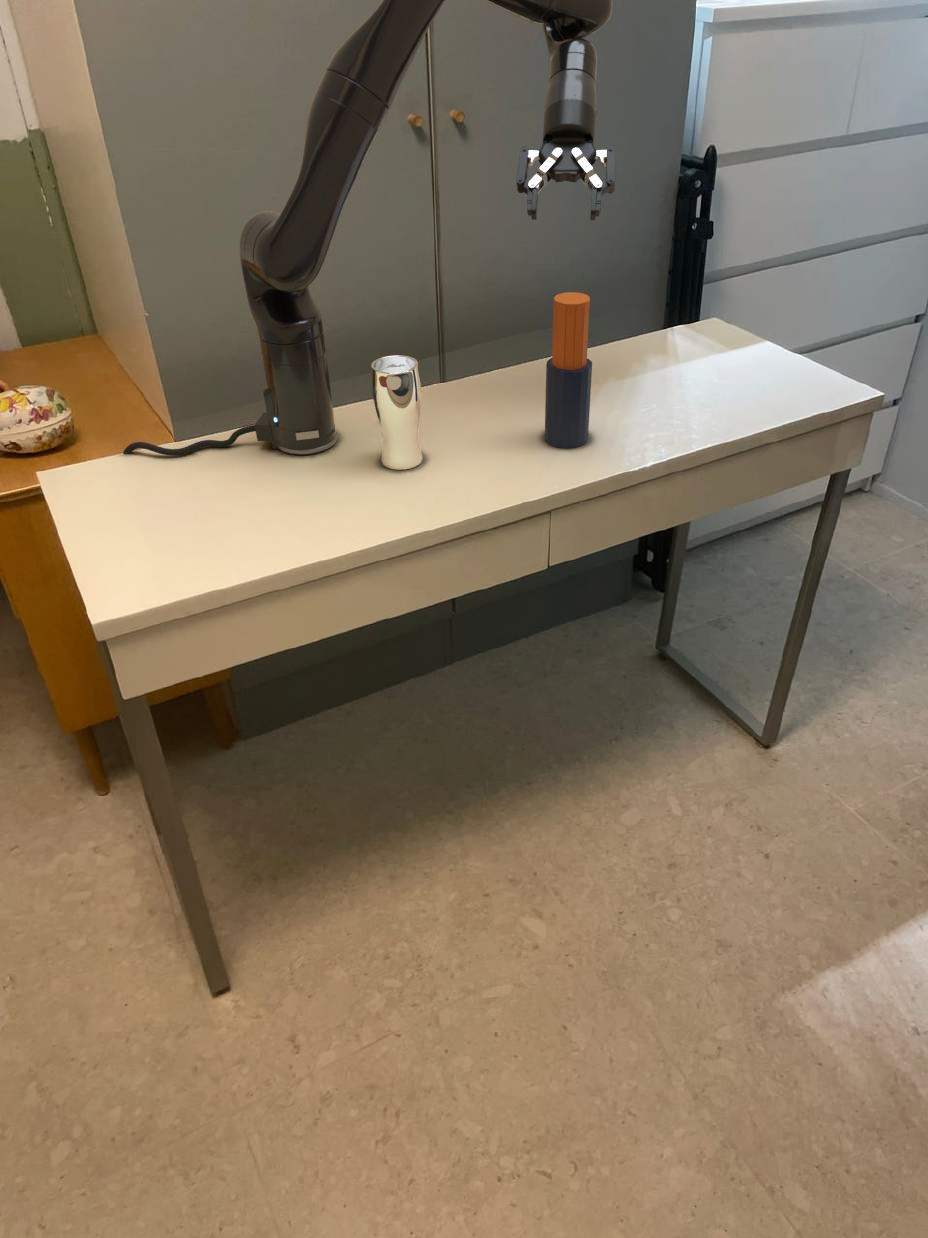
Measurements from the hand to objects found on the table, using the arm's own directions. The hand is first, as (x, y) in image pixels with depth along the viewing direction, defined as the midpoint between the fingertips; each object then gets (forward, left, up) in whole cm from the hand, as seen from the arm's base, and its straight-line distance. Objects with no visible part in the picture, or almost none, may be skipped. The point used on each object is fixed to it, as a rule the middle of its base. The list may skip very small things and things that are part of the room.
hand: (563, 216), depth 135 cm
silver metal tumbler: (-22, -21, -29) cm, 42 cm away
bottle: (+2, -12, -29) cm, 32 cm away
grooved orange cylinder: (+2, -12, -17) cm, 21 cm away
